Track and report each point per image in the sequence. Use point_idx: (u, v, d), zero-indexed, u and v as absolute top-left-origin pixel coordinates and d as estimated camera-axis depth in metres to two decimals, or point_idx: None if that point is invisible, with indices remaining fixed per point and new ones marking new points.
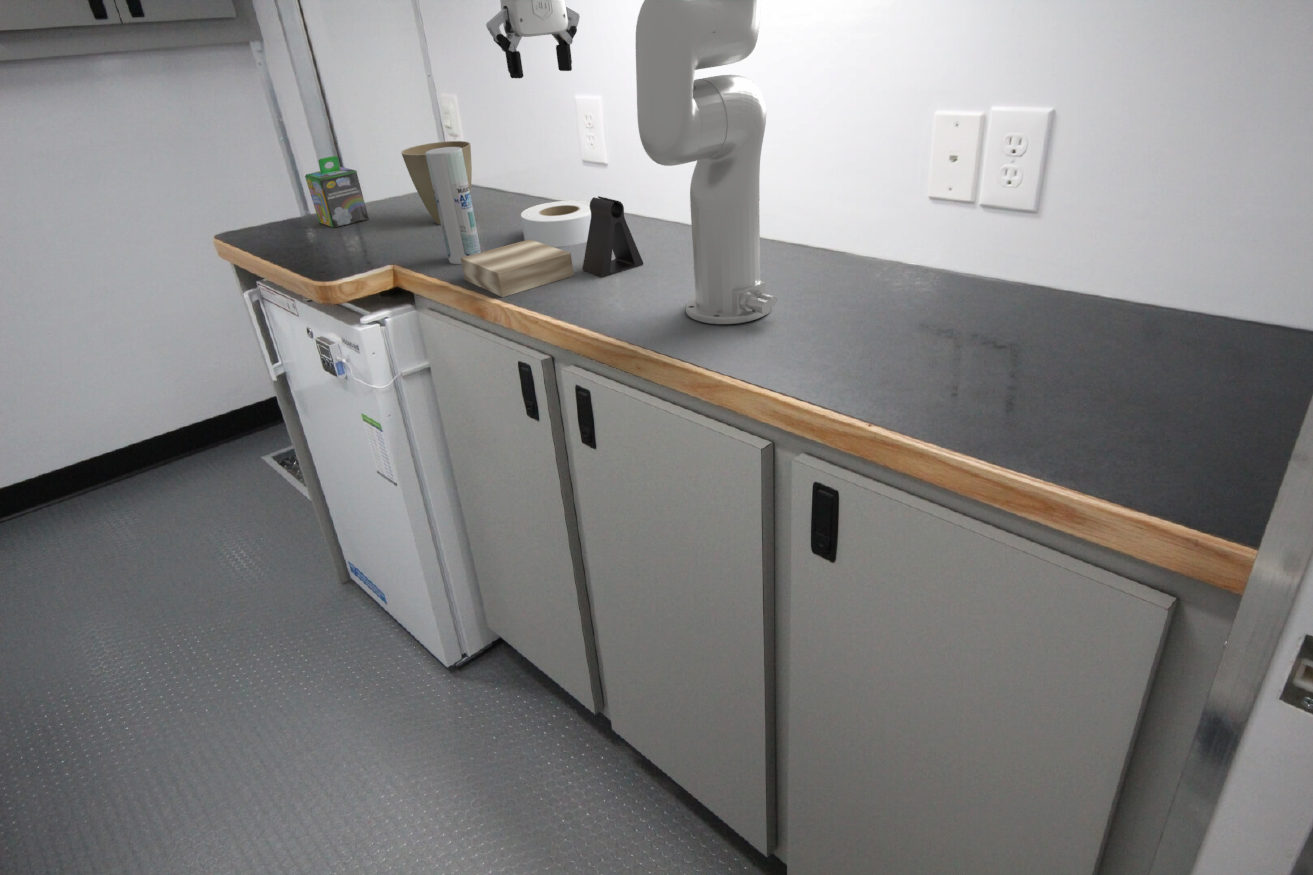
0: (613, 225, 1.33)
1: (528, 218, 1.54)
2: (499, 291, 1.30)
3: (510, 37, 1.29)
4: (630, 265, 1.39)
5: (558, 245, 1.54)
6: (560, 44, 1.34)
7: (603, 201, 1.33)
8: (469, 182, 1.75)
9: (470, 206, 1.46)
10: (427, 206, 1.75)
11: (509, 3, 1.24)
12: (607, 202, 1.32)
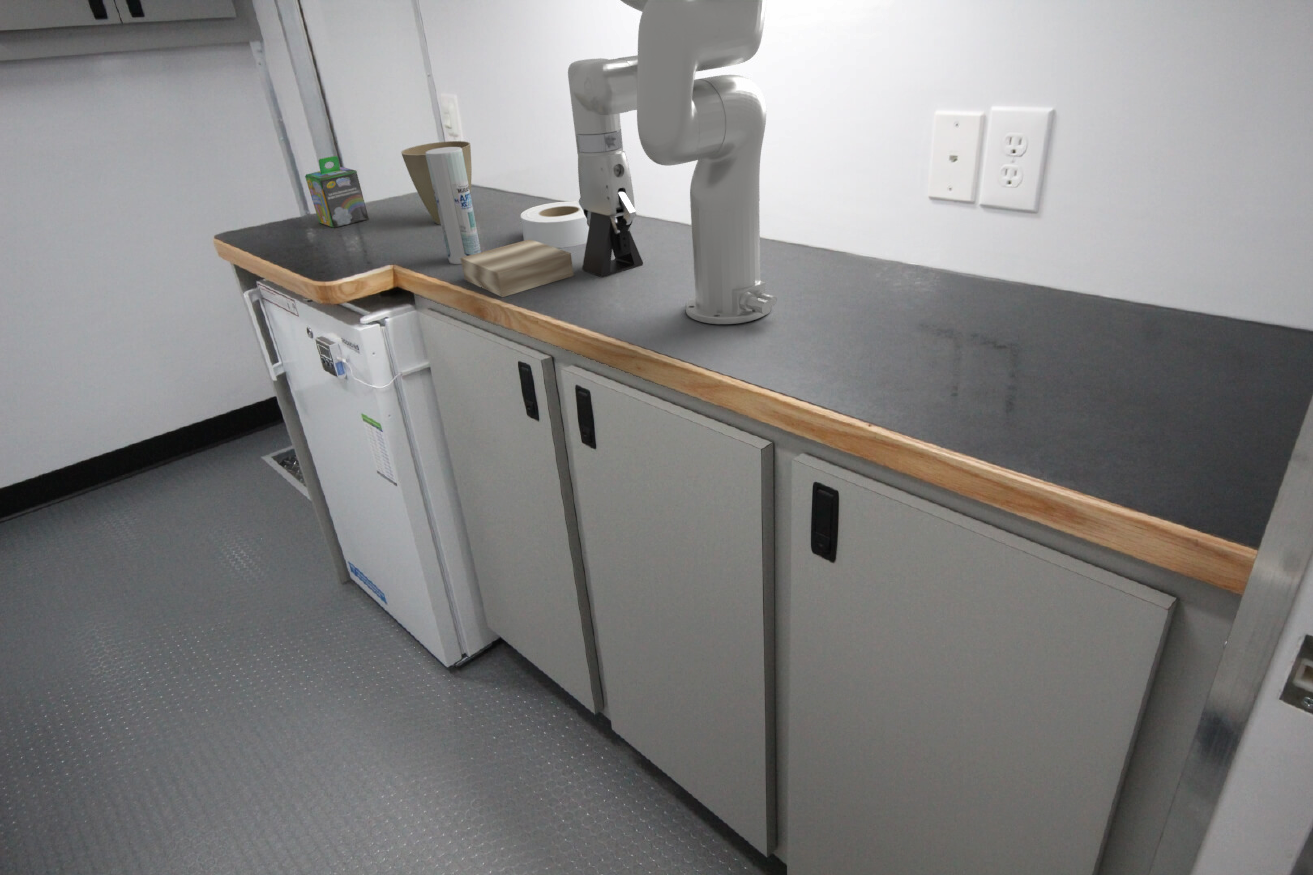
0: None
1: (528, 219, 1.54)
2: (499, 291, 1.30)
3: None
4: (630, 265, 1.39)
5: (558, 246, 1.53)
6: None
7: None
8: (469, 182, 1.75)
9: (470, 206, 1.46)
10: (427, 206, 1.75)
11: (627, 184, 1.29)
12: None
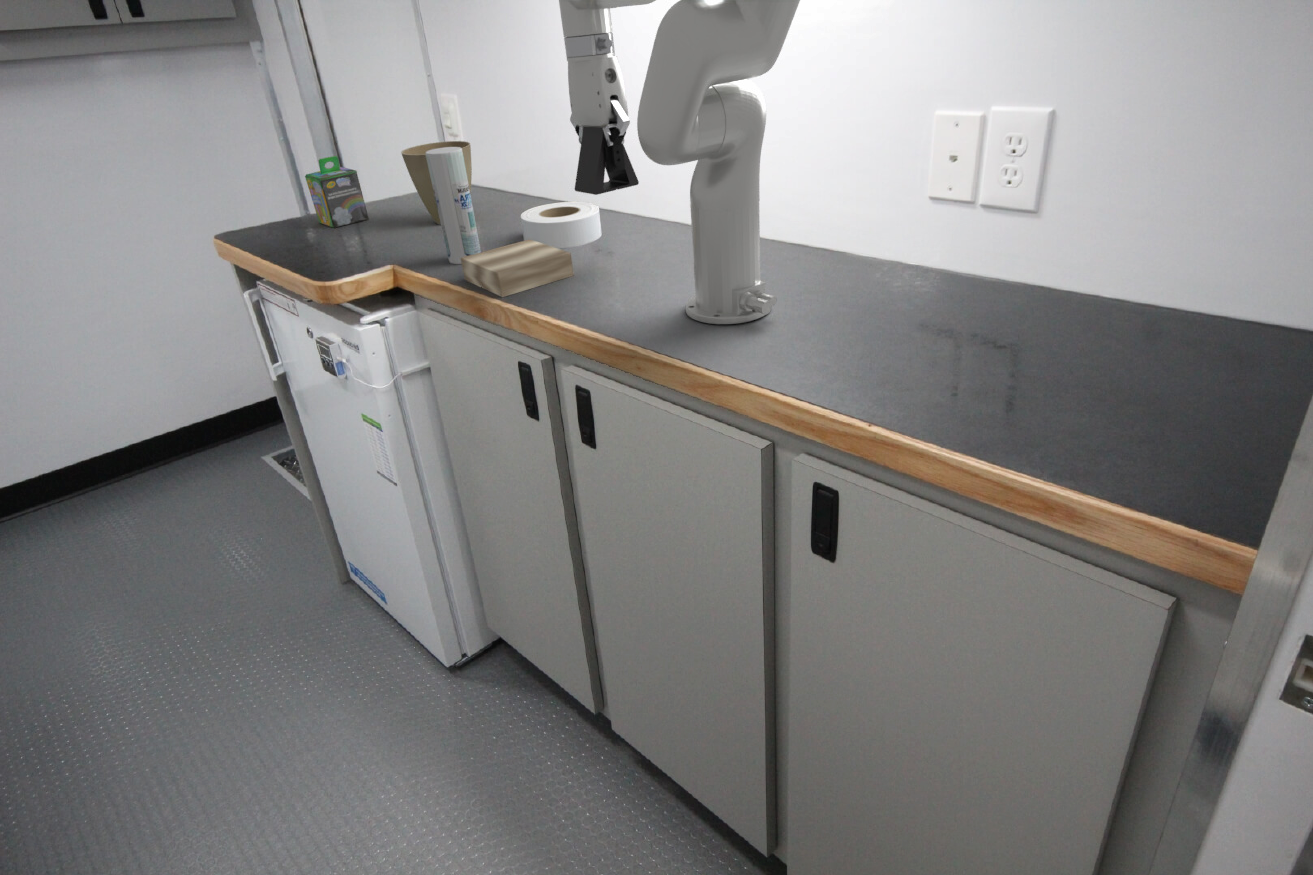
0: None
1: (528, 219, 1.53)
2: (499, 291, 1.30)
3: None
4: (625, 184, 1.31)
5: (558, 247, 1.53)
6: None
7: None
8: (469, 182, 1.75)
9: (470, 206, 1.46)
10: (427, 206, 1.75)
11: (620, 91, 1.22)
12: None
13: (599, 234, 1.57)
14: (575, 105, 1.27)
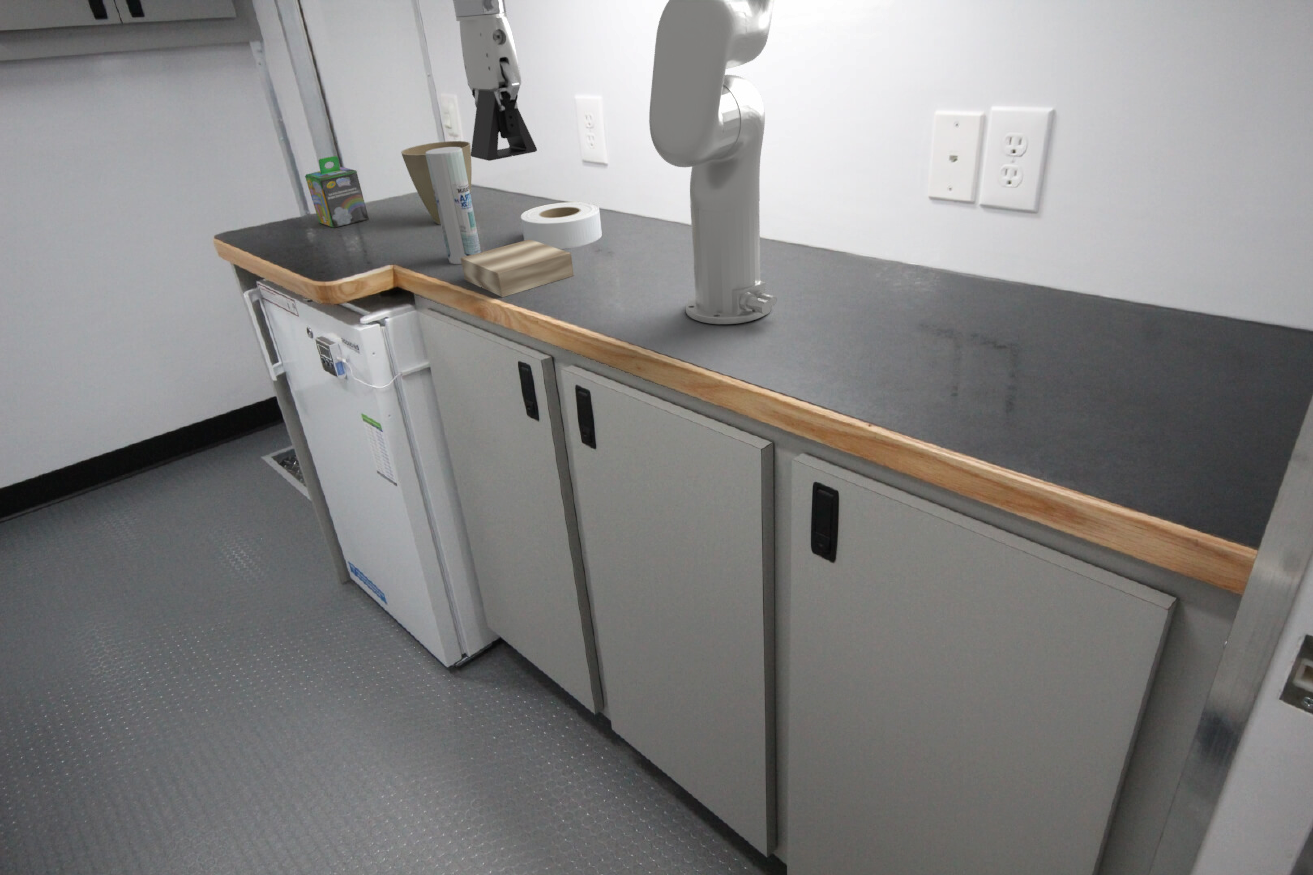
0: None
1: (528, 220, 1.53)
2: (499, 291, 1.30)
3: None
4: (522, 151, 1.28)
5: (558, 247, 1.52)
6: None
7: None
8: (469, 182, 1.75)
9: (470, 206, 1.46)
10: (427, 206, 1.75)
11: (510, 54, 1.18)
12: None
13: (599, 234, 1.57)
14: (468, 67, 1.23)
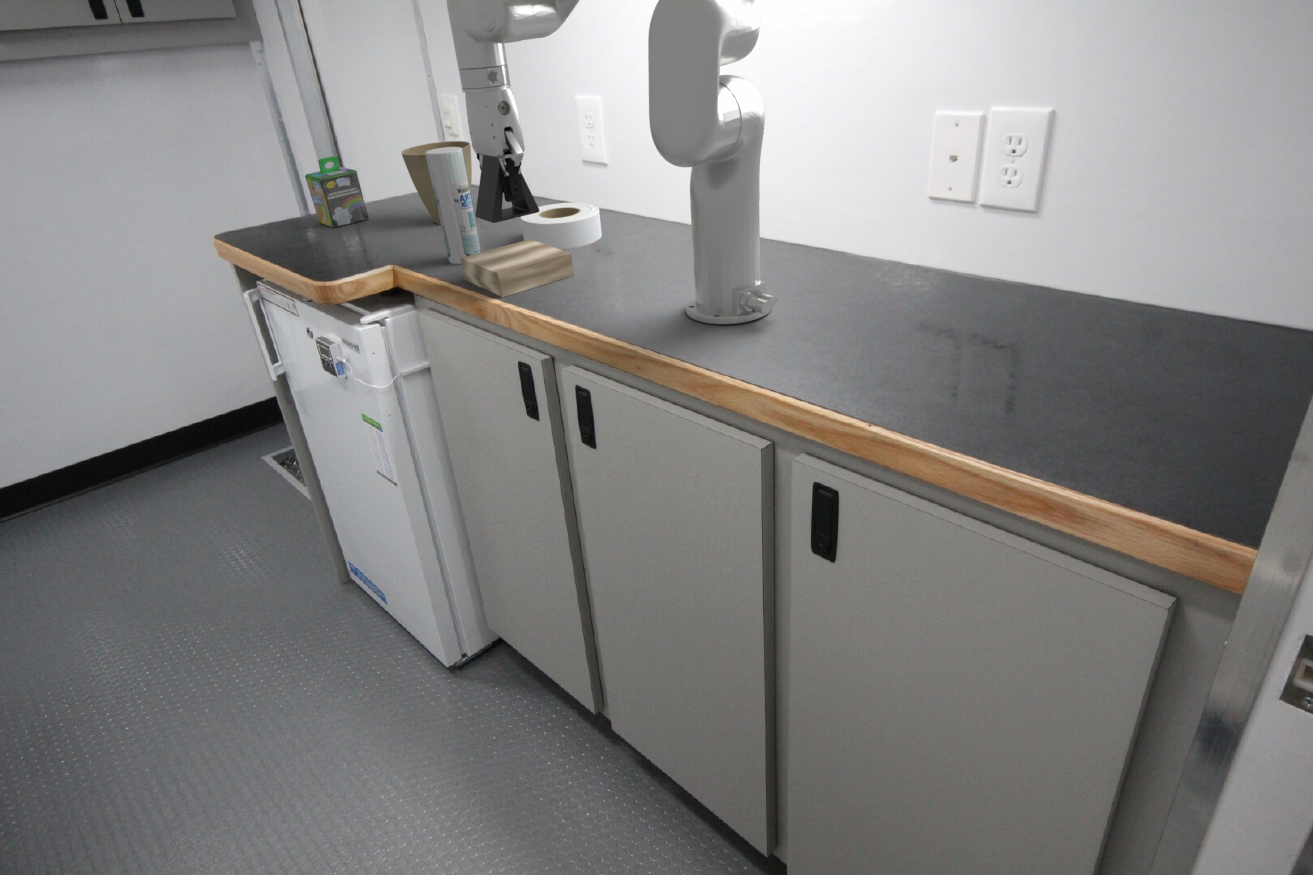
0: None
1: (528, 220, 1.53)
2: (499, 291, 1.30)
3: None
4: (525, 212, 1.33)
5: (558, 248, 1.52)
6: None
7: None
8: (469, 182, 1.75)
9: (470, 206, 1.46)
10: (427, 206, 1.75)
11: (515, 123, 1.23)
12: None
13: (599, 235, 1.57)
14: (473, 134, 1.28)
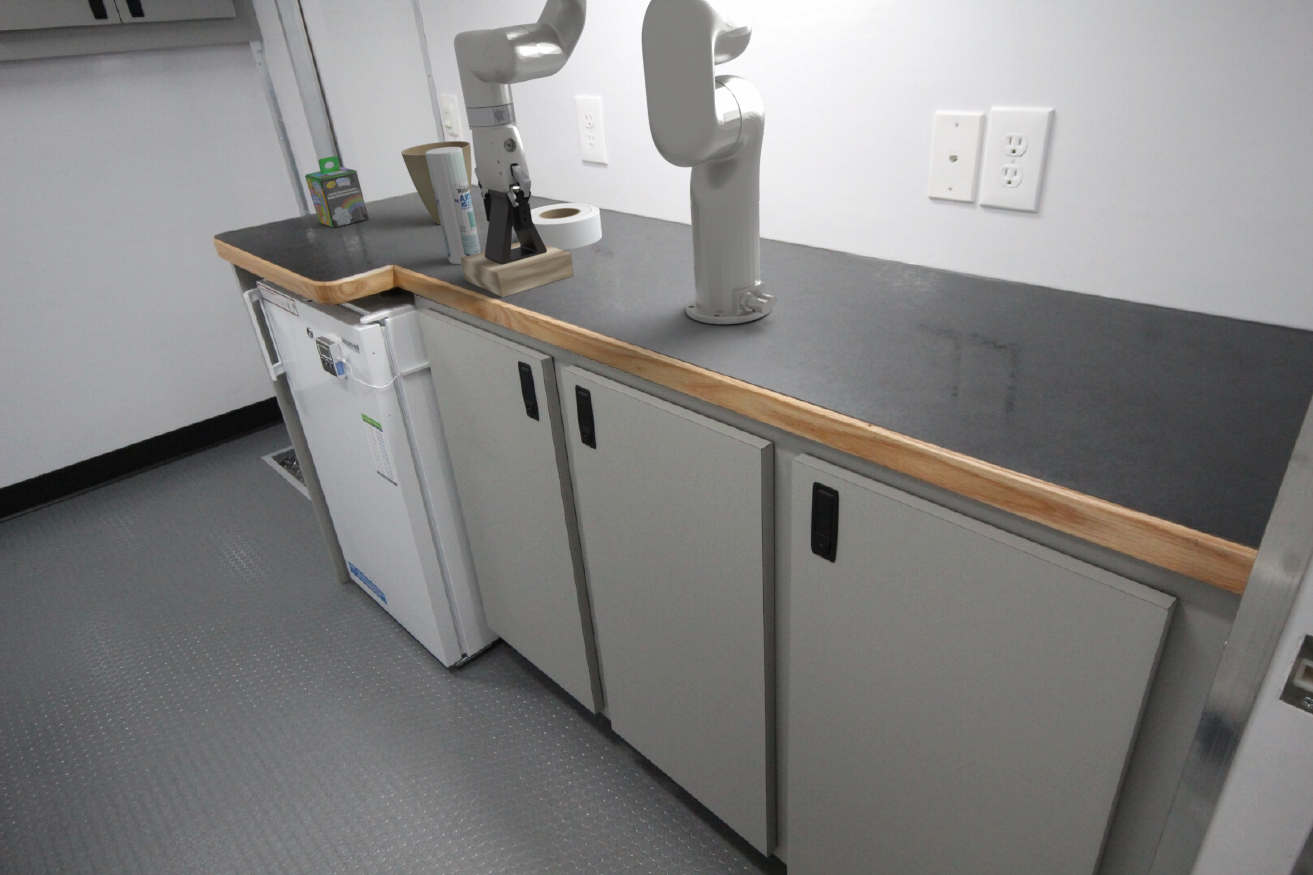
0: (511, 211, 1.30)
1: None
2: (499, 291, 1.30)
3: None
4: (533, 252, 1.36)
5: (558, 248, 1.52)
6: None
7: None
8: (469, 182, 1.75)
9: (470, 206, 1.46)
10: (427, 206, 1.75)
11: (520, 159, 1.26)
12: None
13: (599, 236, 1.56)
14: (480, 169, 1.30)
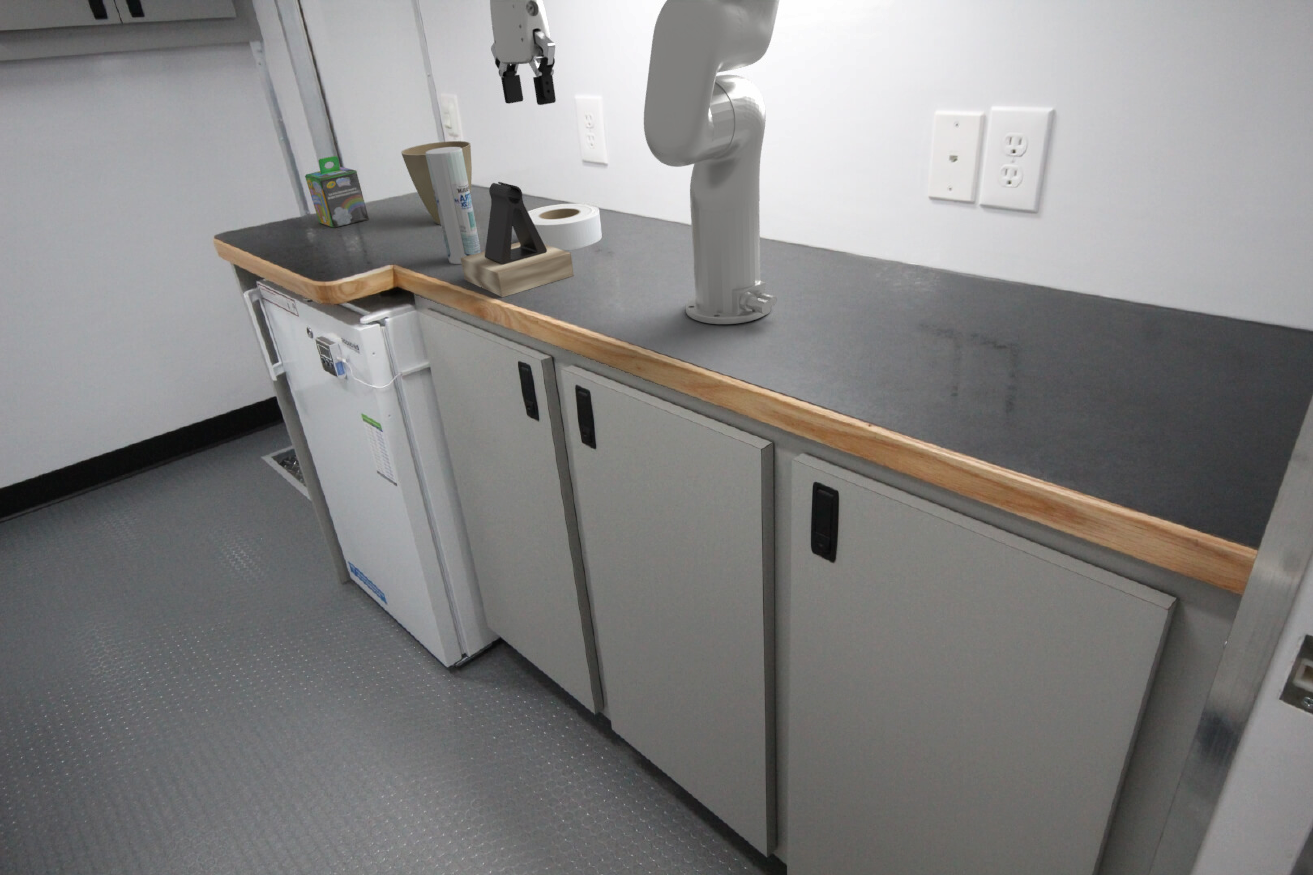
0: (511, 211, 1.30)
1: None
2: (499, 291, 1.30)
3: None
4: (533, 252, 1.36)
5: None
6: (509, 75, 1.28)
7: (501, 186, 1.30)
8: (469, 182, 1.75)
9: (470, 206, 1.46)
10: (427, 206, 1.75)
11: (543, 25, 1.19)
12: (504, 187, 1.29)
13: (599, 236, 1.56)
14: (498, 41, 1.24)
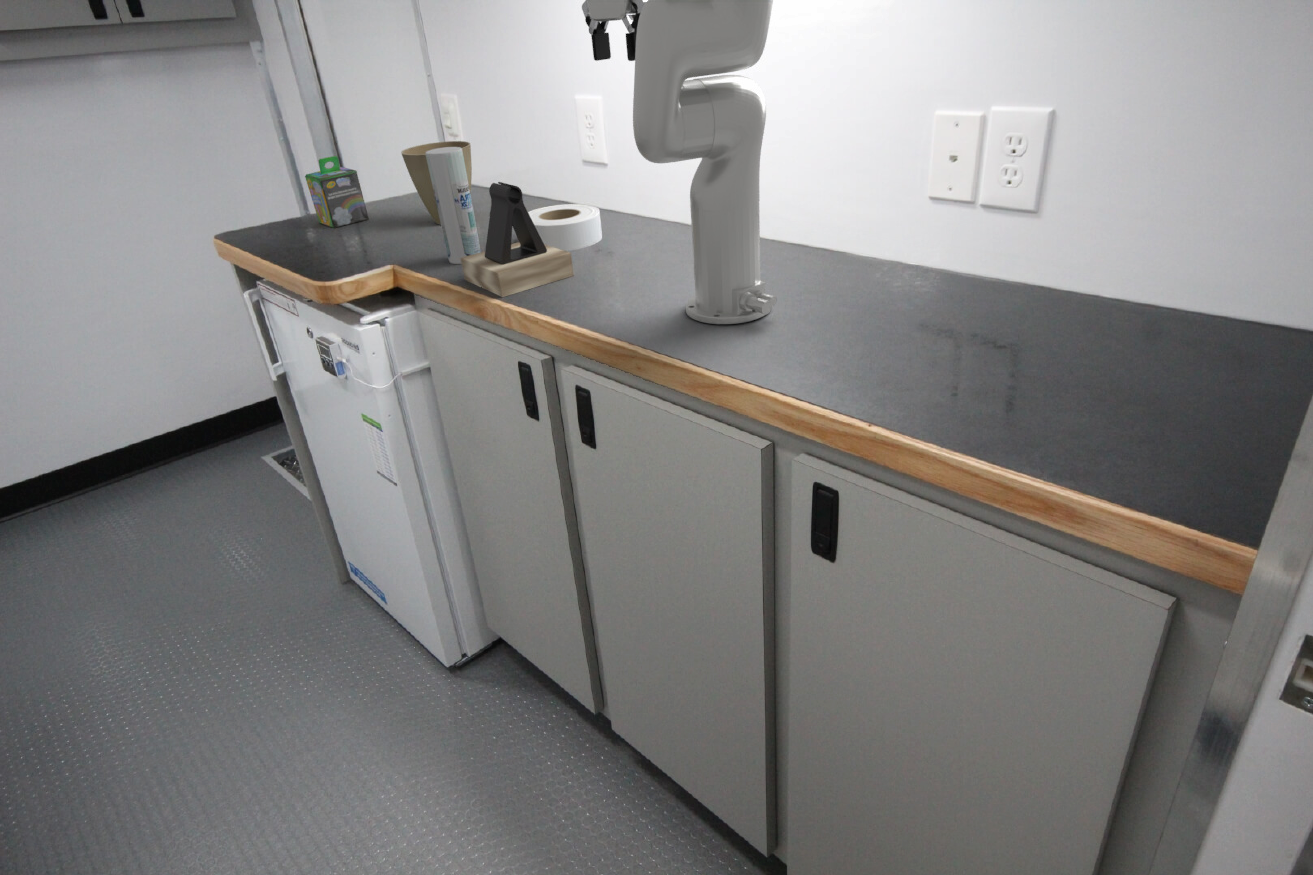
0: (511, 211, 1.30)
1: None
2: (499, 291, 1.30)
3: None
4: (533, 252, 1.36)
5: None
6: (599, 33, 1.33)
7: (501, 186, 1.30)
8: (469, 182, 1.75)
9: (470, 206, 1.46)
10: (427, 206, 1.75)
11: None
12: (504, 187, 1.29)
13: (599, 237, 1.56)
14: None
